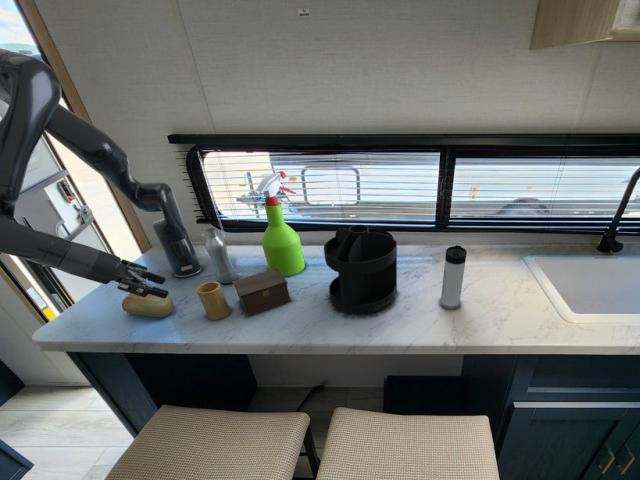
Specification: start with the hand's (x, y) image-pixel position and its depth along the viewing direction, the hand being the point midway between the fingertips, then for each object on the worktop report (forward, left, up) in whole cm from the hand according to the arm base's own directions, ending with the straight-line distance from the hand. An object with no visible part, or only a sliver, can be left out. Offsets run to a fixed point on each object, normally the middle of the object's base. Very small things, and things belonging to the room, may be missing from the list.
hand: (165, 287), depth 88 cm
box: (+2, +24, -13) cm, 27 cm away
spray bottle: (-17, +40, -14) cm, 45 cm away
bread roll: (-13, -7, -14) cm, 20 cm away
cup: (0, +10, -13) cm, 17 cm away
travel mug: (+39, +74, -14) cm, 85 cm away
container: (+19, +52, -14) cm, 57 cm away
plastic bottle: (-19, +17, -14) cm, 29 cm away
